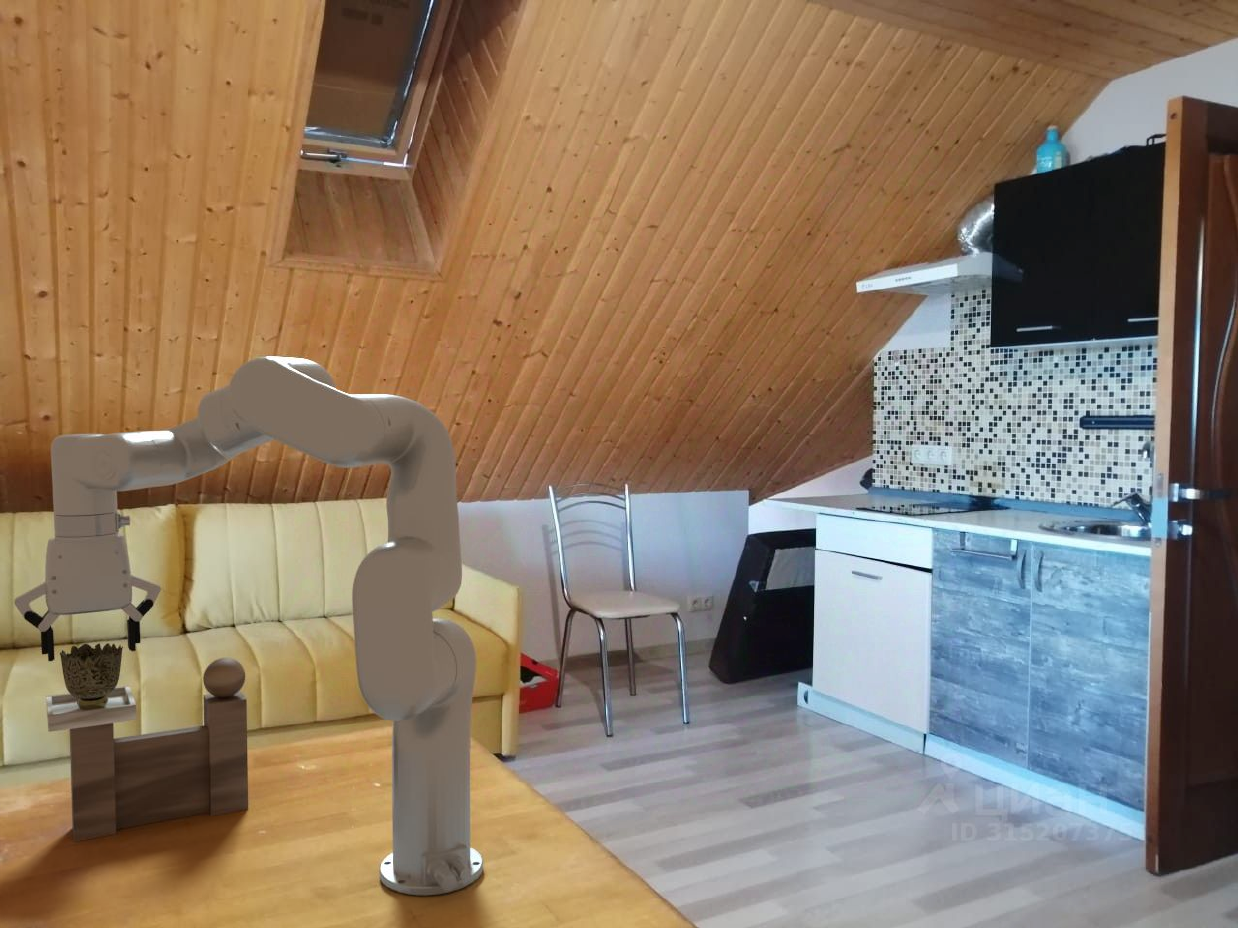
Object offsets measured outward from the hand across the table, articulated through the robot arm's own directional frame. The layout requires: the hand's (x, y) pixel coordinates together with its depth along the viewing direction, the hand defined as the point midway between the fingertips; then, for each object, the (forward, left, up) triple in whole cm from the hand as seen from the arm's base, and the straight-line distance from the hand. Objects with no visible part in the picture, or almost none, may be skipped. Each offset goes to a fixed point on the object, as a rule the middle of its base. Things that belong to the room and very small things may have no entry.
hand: (92, 653), depth 136 cm
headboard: (0, -7, -24) cm, 25 cm away
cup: (0, 0, -8) cm, 8 cm away
